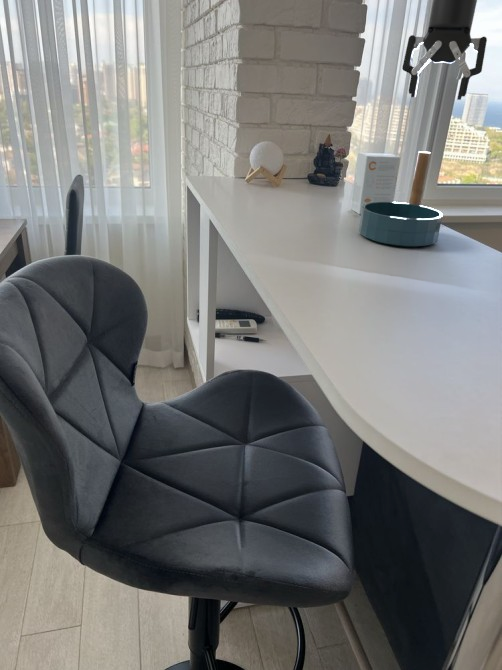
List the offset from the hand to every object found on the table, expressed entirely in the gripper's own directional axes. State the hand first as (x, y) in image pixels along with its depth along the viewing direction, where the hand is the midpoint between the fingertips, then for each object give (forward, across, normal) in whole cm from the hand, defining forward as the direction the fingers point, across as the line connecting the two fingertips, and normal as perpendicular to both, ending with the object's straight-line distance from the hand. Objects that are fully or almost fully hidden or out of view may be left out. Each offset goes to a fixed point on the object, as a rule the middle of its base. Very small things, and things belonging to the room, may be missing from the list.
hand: (435, 98), depth 98 cm
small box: (+25, +10, -9) cm, 29 cm away
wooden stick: (+25, 0, -3) cm, 25 cm away
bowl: (+25, +2, +12) cm, 28 cm away
